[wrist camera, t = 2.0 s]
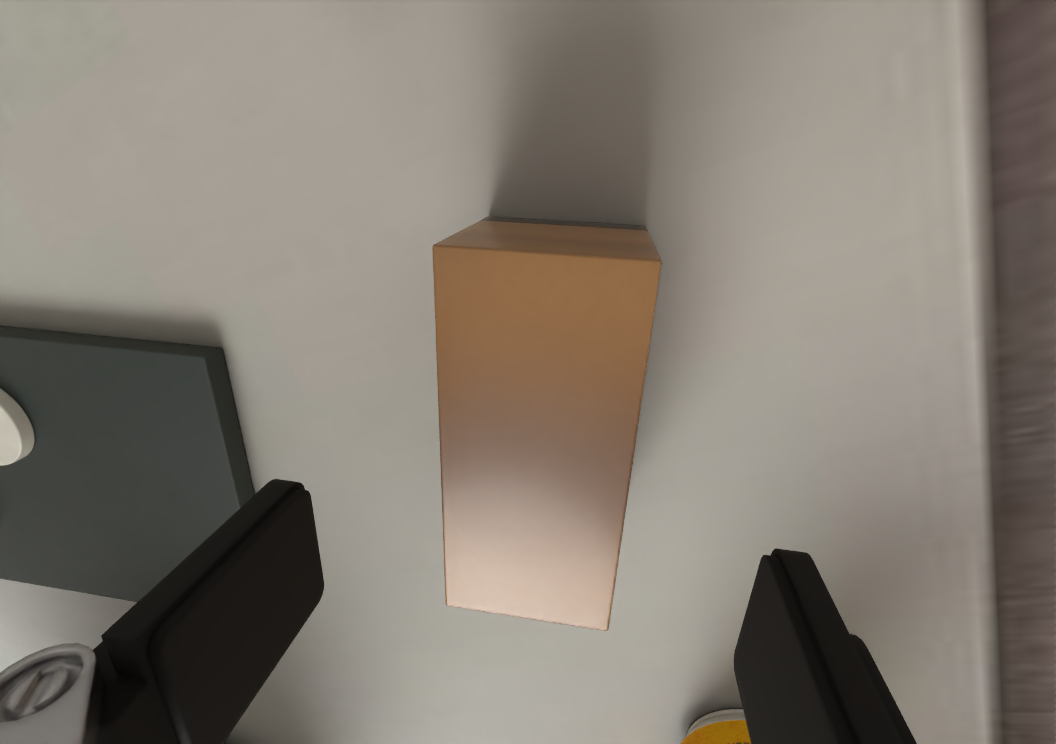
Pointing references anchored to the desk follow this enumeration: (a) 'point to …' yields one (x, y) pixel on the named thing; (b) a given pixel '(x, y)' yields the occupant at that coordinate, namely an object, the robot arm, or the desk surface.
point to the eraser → (540, 410)
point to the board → (116, 460)
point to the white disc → (14, 431)
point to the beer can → (719, 729)
